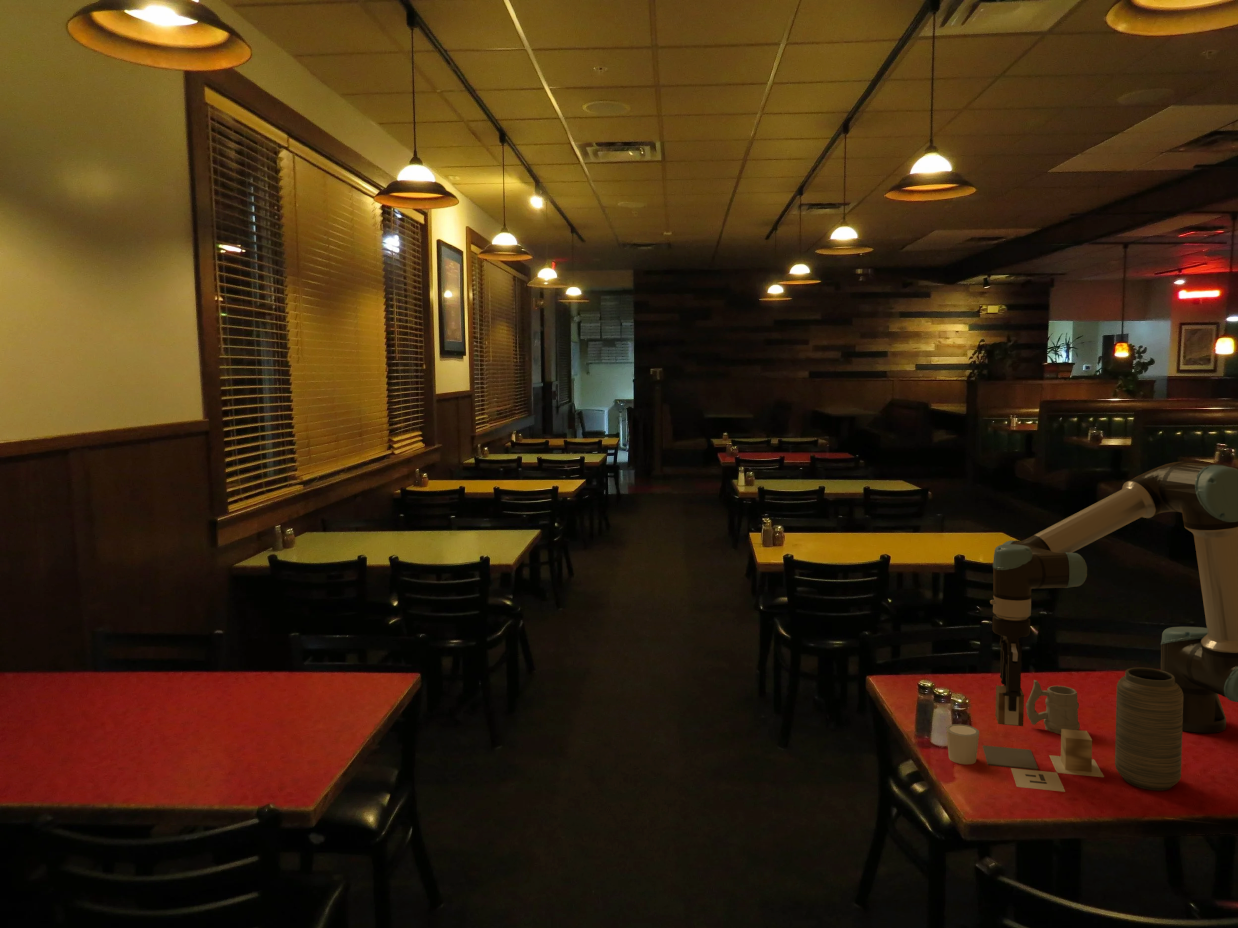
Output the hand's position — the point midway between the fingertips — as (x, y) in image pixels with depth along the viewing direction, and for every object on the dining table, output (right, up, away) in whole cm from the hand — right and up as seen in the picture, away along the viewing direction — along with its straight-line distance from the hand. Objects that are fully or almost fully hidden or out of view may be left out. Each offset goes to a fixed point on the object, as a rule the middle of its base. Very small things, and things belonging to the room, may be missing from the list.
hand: (1009, 718), depth 188 cm
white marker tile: (+1, -10, -10) cm, 14 cm away
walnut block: (0, 0, 0) cm, 0 cm away
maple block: (+13, -9, -4) cm, 16 cm away
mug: (+18, -8, +16) cm, 25 cm away
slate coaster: (0, -9, +1) cm, 9 cm away
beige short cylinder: (-10, -10, +1) cm, 14 cm away
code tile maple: (+13, -9, -4) cm, 16 cm away
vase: (+23, -10, -12) cm, 28 cm away
